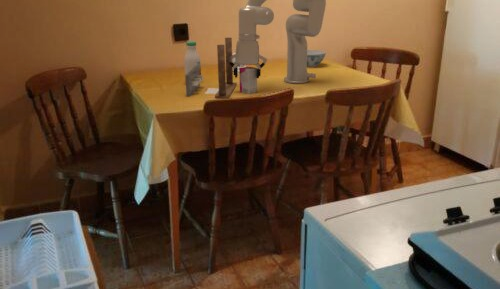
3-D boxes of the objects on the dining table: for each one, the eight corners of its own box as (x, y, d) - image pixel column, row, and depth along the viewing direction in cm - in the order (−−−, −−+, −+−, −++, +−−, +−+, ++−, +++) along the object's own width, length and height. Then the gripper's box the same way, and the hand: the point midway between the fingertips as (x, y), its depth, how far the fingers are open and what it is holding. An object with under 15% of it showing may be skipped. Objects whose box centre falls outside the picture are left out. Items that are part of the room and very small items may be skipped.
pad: (230, 90, 207) (230, 88, 206) (226, 95, 197) (226, 94, 197) (208, 89, 208) (208, 87, 207) (204, 95, 199) (204, 93, 198)
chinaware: (294, 64, 260) (295, 50, 258) (319, 62, 264) (319, 49, 261) (303, 69, 247) (304, 55, 244) (329, 67, 250) (329, 53, 247)
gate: (236, 84, 213) (235, 37, 205) (228, 98, 190) (227, 46, 182) (224, 84, 213) (222, 37, 205) (214, 98, 191) (212, 45, 183)
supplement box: (257, 93, 201) (257, 67, 197) (248, 95, 197) (248, 69, 193) (248, 90, 205) (247, 65, 201) (239, 93, 201) (238, 68, 197)
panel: (205, 86, 213) (204, 65, 209) (195, 98, 194) (194, 75, 191) (196, 86, 213) (195, 65, 209) (186, 98, 195) (185, 75, 191)
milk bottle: (194, 85, 215) (192, 43, 208) (182, 83, 219) (179, 42, 211) (204, 82, 221) (202, 41, 214) (192, 80, 225) (189, 40, 218)
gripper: (268, 37, 195) (267, 76, 201) (228, 36, 196) (228, 75, 202) (266, 39, 188) (266, 79, 194) (225, 38, 189) (226, 78, 195)
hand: (247, 77), depth 198 cm, fingers open, 9 cm apart
